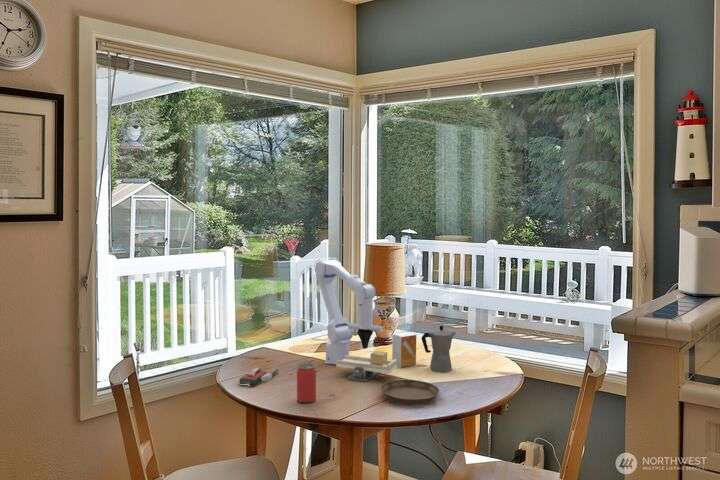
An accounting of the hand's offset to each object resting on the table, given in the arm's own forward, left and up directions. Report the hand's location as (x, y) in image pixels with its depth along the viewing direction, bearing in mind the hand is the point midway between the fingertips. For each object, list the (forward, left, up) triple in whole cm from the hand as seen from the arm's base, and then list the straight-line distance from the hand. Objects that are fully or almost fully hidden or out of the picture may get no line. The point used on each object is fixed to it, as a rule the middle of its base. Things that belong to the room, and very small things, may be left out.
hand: (365, 347), depth 242 cm
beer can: (-6, -40, -10) cm, 42 cm away
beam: (+2, -6, -6) cm, 9 cm away
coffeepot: (+27, +13, -10) cm, 31 cm away
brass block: (+8, -6, -5) cm, 11 cm away
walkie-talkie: (-34, -26, -10) cm, 44 cm away
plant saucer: (+26, -23, -10) cm, 36 cm away
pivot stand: (+2, -6, -9) cm, 11 cm away
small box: (+12, +14, -10) cm, 21 cm away
